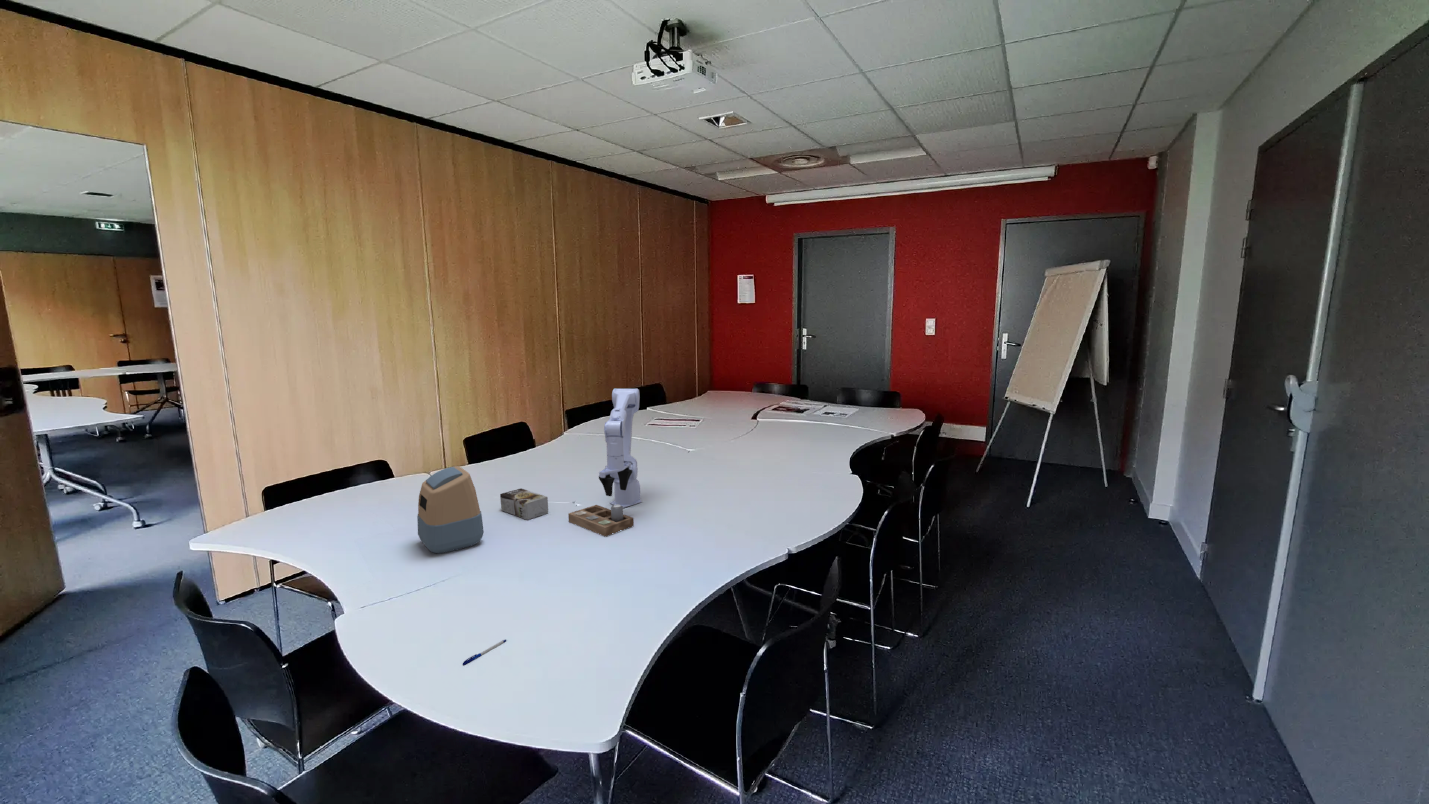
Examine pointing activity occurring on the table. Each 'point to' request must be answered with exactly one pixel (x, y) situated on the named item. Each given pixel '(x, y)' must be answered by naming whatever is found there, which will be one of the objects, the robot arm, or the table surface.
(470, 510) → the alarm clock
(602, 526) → the socket board
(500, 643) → the ballpoint pen
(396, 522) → the table surface
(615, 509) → the plug
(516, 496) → the coffee box
